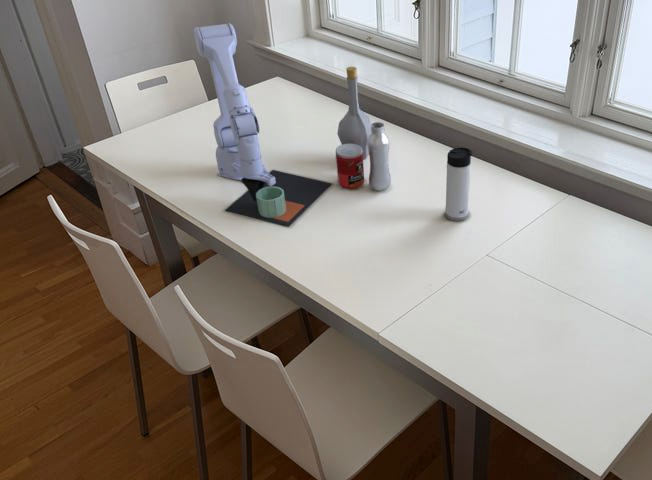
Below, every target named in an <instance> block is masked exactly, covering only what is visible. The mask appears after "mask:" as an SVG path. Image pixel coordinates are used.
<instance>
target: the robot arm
mask: <svg viewBox="0 0 652 480" xmlns="http://www.w3.org/2000/svg"><path fill="white" fill-rule="evenodd" d="M193 38H194V41H195V44H196V51H197V53H198V55H199V57H201V58H205V59H206V60H207V61H208V63H209V67H210V71H211V76H212V81H213V84H214V89H215V93H216V99H217V103H218V107H219V112H220V115H219V116H218V117H217V118H216V119H215V120H214V121H213V124H212V126H213V134H214V139H215V142H216V145H217V147H216V149H215V160H216V163H217V168H218V173H217V176H219V177H223V178H227V179H231V180H236V181H240V182H241V183H242V184H243V185H244V187H245V188H246V190H247V191H249V192H250V194H251V196H252V198H253V200H254V201H256V202H257V199H256V192H257V191H258V190H260V189H262V188H263V187H264V184H265V182H266V183H268V185H269V186H272V185H274V184H275V183H276V181H275V177H274V176H272V175H270V174H269V173H270V172H268V170H266V165H264V164H263V159H262V158H263V157H262V153H261V147H260V139H259V135H258V134H260V123H259V120H258V116H257V115H256V112H255V111H254V108H253V107H252V106H251V103H250V100H249V98H248V94H247V90H246V88H245V87H244V86H243V85H241V84H240V83H239V80H238V79H239V78H238V75H237V71H236V66H235V62H234V57H233V56H234V55H235V54H236V51H237V45H238V40H237V39H238V38H237V34H236V30H235V27H234V26H233V24H231V22H227V23H221V24H214V25H207V26H206V25H205V26H199V27H198V26H195V27H194V28H193Z"/></svg>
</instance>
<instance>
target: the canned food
mask: <svg viewBox="0 0 652 480" xmlns="http://www.w3.org/2000/svg"><path fill="white" fill-rule="evenodd" d="M335 161H336V172H337V173H336V174H337V182H338V184H339V186H340V187H341V188H343V189H345V190H346V189H347V190H356V189H358V188H359V189H360V188H361V187H362V186H363V185H364V183H365V167H364V160H363V151H362V148H361V147H360V146H359V145H356V144H343V145H342V144H340V145H338V146H336V148H335Z"/></svg>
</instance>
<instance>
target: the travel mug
mask: <svg viewBox="0 0 652 480" xmlns="http://www.w3.org/2000/svg"><path fill="white" fill-rule="evenodd" d="M473 155H474V152H473V150H471V149H470V148H468V147H455V148H452V149H450V150H449V151H448V153H447V155H446V156H447V157H446V158H447V161H446V185H445V187H446V188H445V217H446V218H447V219H448V220H451V221H454V222H460V221H464V220H466V218H467V217H468V216H469V202H470V186H471V181H470V180H471V164H472V161H471V159H472V156H473Z"/></svg>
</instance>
